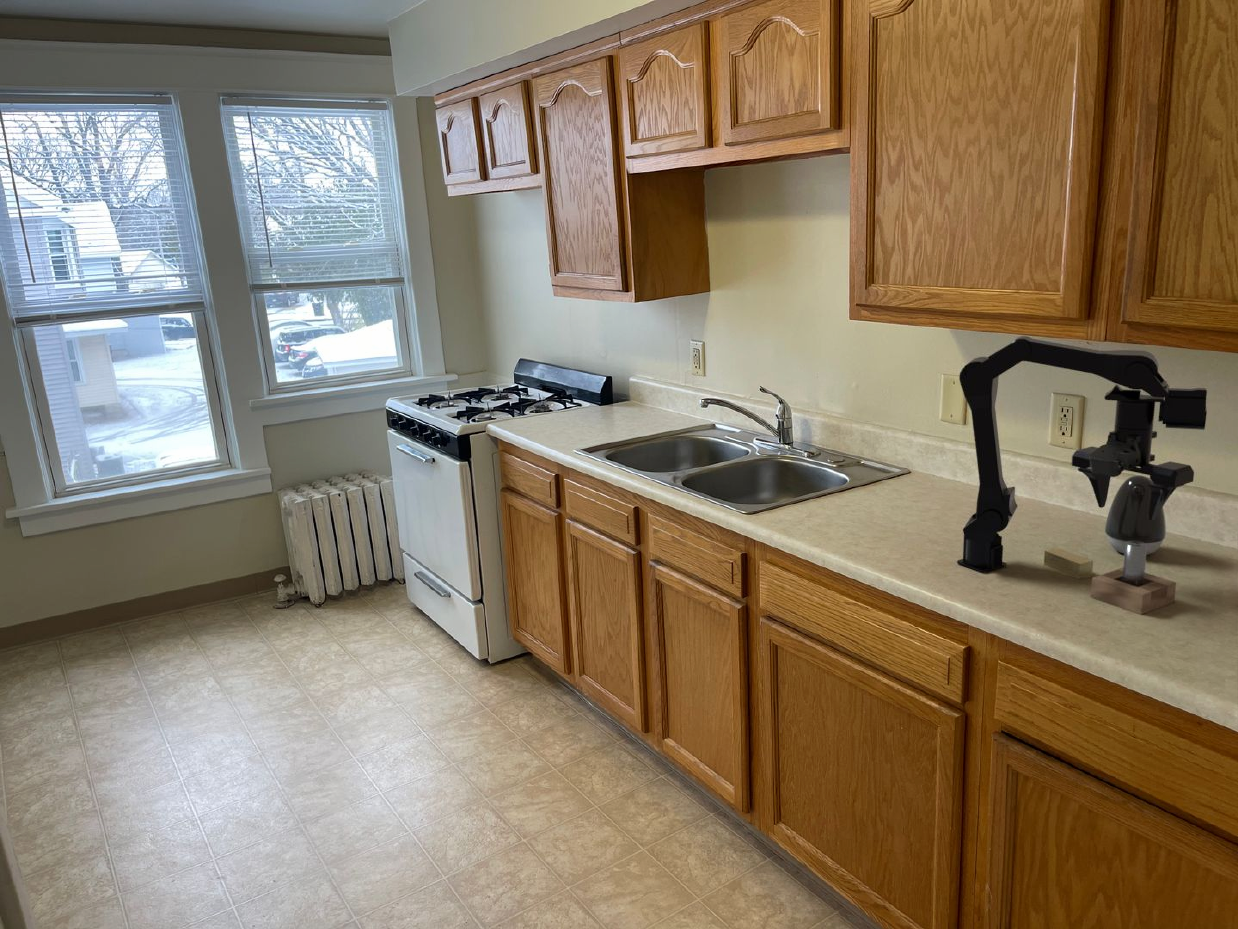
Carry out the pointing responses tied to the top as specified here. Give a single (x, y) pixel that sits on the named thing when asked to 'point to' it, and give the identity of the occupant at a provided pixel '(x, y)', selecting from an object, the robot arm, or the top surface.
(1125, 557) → the cylinder
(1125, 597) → the socket block
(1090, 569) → the square bit
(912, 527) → the top surface
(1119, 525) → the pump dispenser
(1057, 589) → the top surface
